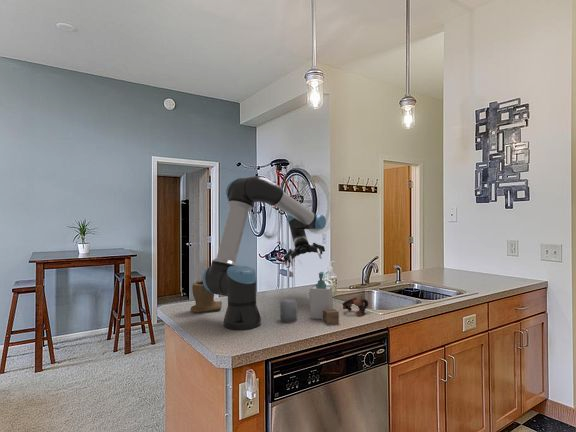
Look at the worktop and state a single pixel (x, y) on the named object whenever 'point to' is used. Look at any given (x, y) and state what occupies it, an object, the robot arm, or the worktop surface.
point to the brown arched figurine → (358, 303)
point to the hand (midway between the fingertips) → (306, 259)
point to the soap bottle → (320, 298)
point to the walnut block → (330, 316)
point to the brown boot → (203, 298)
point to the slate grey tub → (288, 310)
